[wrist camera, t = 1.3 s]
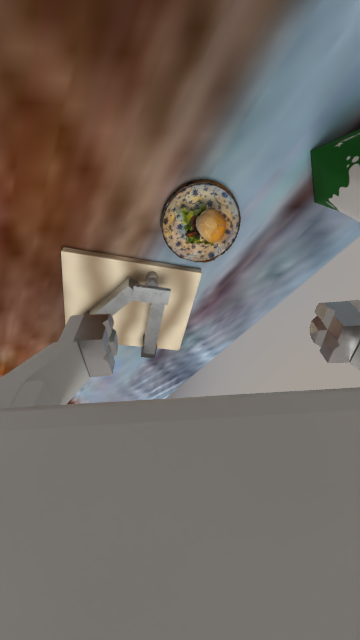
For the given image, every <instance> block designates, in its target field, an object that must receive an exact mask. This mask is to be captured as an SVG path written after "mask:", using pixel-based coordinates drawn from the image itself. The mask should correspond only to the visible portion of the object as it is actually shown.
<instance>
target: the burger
mask: <svg viewBox="0 0 360 640" xmlns="http://www.w3.org/2000/svg"><path fill="white" fill-rule="evenodd" d="M173 194H174V193H173ZM240 221H241V217H240V212H239V207H238V204H237V202H236V200H235V198H234V197H233V195H232V194H231V193H230V191H229V190H227V189H226V188H225V187H224V186H223V185H221V184H219V183H217V182H214V181H211V180H194V181H191V182H188V183H185V184H183V185H182V186H181V188H180V187H179V190H178V189H177V193H176V192H175V194H174V195H173V196H171V195H170V197H169V198H168V200H167V201H166V203H165V205H164V209H163V213H162V218H161V229H162V232H163V237H164V240H165V242H166V244H167V245H168V247H169V248H170V249H171V250H172V251H173V252H174V253H175V254H176V255H177V256H178V257H180V258H183V259H187V260H190V261H194V262H203V263H204V262H209V261H212V260H215V258H217V257H218V256H219V255H222V254H224V253H225V251H226V250H228V249H229V248H230V247H231V245H232V244H233V243H234V241H235V239H236V237H237V234H238V231H239V227H240Z"/></svg>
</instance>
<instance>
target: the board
mask: <svg viewBox="0 0 360 640" xmlns="http://www.w3.org/2000/svg"><path fill="white" fill-rule="evenodd" d="M61 258H62V275H63V291H64V308H65V324H67V322H68V320H69V318H70V316H72V315H83V314H84V313H86V312H87V311H88V310H91V309H92V308H93V307H94V306H95V305H97V304H98V303H99V302H100V301H101V300H103V299H104V298H105V297H106V296H107V295H108V294H110V293H111V292H112V291H113V290H114V289H115V288H117V287H118V286H119V285H120V284H121V283H122V282H124V281H125V280H126V279H127V278H128V277H129V276H130V277H131V278H132V279H133V280H134V281H135V282H137V283H138V284H142V285H146V274H147V273H148V272H150V271H154V272H156V273H157V274H158V287H163V288H170V289H171V293H170V297H169V302H168V305H165V308H164V312H163V317H162V321H161V326H160V331H159V335H158V340H157V348H161V349H171V350H179V349H180V346H181V342H182V339H183V335H184V332H185V329H186V325H187V322H188V318H189V315H190V312H191V308H192V305H193V301H194V298H195V295H196V291H197V288H198V284H199V281H200V278H201V274H202V272H201V269H197V268H191V267H185V266H178V265H172V264H166V263H160V262H153V261H147V260H141V259H135V258H128V257H122V256H116V255H110V254H104V253H97V252H91V251H85V250H79V249H72V248H66V247H63V249H62V250H61ZM149 306H150V303H146V302H139V301H130V302H129V303H128V304H127V305H125V306H124V307H123V308H122V309H120V310H119V311H118V312H117V313H115V314H114V315H113V316H112V317H113V320H114V325H113V329H114V330H115V331H116V333H117V339H118V344H120V345H130V346H142V340H143V335H145V329H146V323H147V317H148V312H149Z"/></svg>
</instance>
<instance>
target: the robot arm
mask: <svg viewBox="0 0 360 640" xmlns="http://www.w3.org/2000/svg"><path fill="white" fill-rule="evenodd" d="M315 313H316V315H317V316H316V317H315V318H314V319H313V320H312V321H311V325H310V335H311V338H312V340H313V342H314V343H315V344H317V345H319V346H320V347H321V349H320V352H321V354H322V355H323V357H324V358H325V360H326V361H327V362H328V363H344V362H345V363H347V362H350V364H352V365H353V366H354V367H356V368H357V369H359V370H360V301H359V300H352V301H343V302H328V303H319V304H318V305H317V307H316V310H315ZM113 325H114V320H113V317H112V315H111V314H86V315H72V316H70V318H69V320H68V322H67V324H66V326H65V328H64V330H63V332H62V334H61V336H60V338H59V340H58V342H54V343H52V344H51V345H49V346H48V347H46V348H45V349H43V350H42V351H40V352H39V353H37V354H36V355H34V356H33V357H31V358H30V359H28V360H27V361H25V362H24V363H22V364H21V365H19V366H18V367H16V368H15V369H13V370H12V371H11V372H9V373H8V374H6V375H5V376H3V377H2V378H0V640H360V388H342V389H325V390H308V391H290V392H273V393H255V394H238V395H221V396H204V397H189V398H171V399H153V400H136V401H119V402H102V403H85V404H68V405H66V404H67V403H68V402H69V401H70V400H71V399H72V397H73V396H74V395H75V394H76V393H77V392H78V391H79V390H80V389H81V388H82V386H83V385H84V384H85V383H86V382H87V381H88V380H89V379H90V377H97V376H109V375H112V374H113V369H114V364H115V361H114V356H115V355H116V354H117V349H118V339H117V333H116V331H115V330H114V329H113Z"/></svg>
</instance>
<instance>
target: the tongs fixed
mask: <svg viewBox="0 0 360 640" xmlns="http://www.w3.org/2000/svg"><path fill="white" fill-rule="evenodd" d="M170 293H171V289H170V288H163V287H158V274H157V273H156V272H154V271H150V272H148V273H147V274H146V285H142V284H135V283H134V287H133V295H132V301H139V302H146V303H150V306H149V312H148V317H147V323H146V329H145V335H143V340H142V346H141V357H149V358H155V354H156V349H157V340H158V335H159V331H160V326H161V321H162V317H163V312H164V308H165V305H168V302H169V297H170Z"/></svg>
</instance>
